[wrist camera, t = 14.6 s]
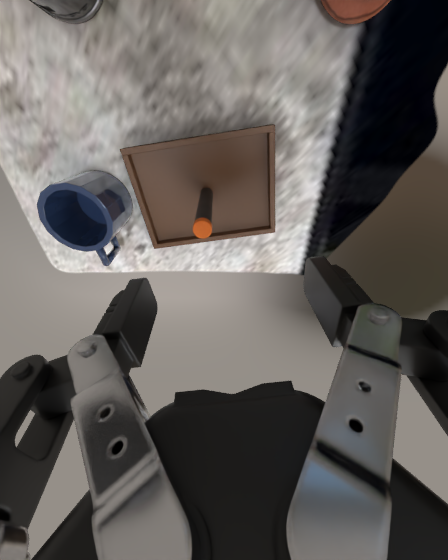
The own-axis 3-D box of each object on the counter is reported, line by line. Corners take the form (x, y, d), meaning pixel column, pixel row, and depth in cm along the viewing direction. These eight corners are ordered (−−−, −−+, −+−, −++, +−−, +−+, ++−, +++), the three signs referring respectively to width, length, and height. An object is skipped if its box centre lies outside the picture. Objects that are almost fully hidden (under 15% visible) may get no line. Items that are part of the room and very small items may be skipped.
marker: (198, 188, 36) (190, 221, 24) (211, 186, 36) (210, 219, 24) (201, 201, 37) (194, 240, 25) (213, 199, 37) (213, 237, 25)
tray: (124, 148, 33) (119, 149, 31) (271, 124, 32) (274, 124, 30) (156, 243, 42) (154, 248, 40) (272, 228, 41) (275, 232, 39)
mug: (62, 175, 35) (21, 189, 27) (119, 166, 34) (93, 178, 27) (99, 248, 42) (74, 275, 35) (147, 241, 42) (132, 267, 34)
